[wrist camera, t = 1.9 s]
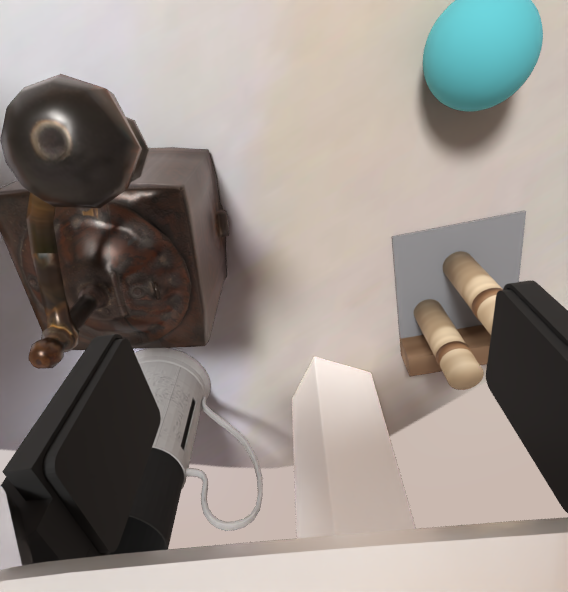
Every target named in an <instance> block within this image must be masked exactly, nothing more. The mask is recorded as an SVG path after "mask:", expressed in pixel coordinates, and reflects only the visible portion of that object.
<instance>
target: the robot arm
mask: <svg viewBox="0 0 568 592" xmlns="http://www.w3.org/2000/svg"><path fill="white" fill-rule="evenodd" d="M486 380H487V384H488V387H489V389H490V391H491V392H492V393H493V395H494V397H495V399H496V400H497V402H498V403H499V405H500V407H501V408H502V410H503V411H504V413H505V415H506V416H507V418H508V420H509V421H510V423H511V425H512V426H513V428H514V430H515V431H516V433H517V434H518V436H519V438H520V439H521V441H522V443H523V444H524V446H525V447H526V449H527V451H528V452H529V454H530V456H531V457H532V459H533V461H534V462H535V464H536V465H537V467H538V469H539V470H540V472H541V474H542V475H543V477H544V478H545V480H546V482H547V483H548V485H549V487H550V488H551V490H552V491H553V493H554V495H555V496H556V498H557V500H558V501H559V503H560V504H561V506H562V507H563V509H564V510H565V511H566V512H567V513H568V311H567V310H566V309H565V308H564V307H563V306H562V305H561V304H560V303H558V302H557V301H556V300H555V299H554V298H553V297H552V296H551V295H550V294H548V293H547V292H546V291H545V290H544V289H543V288H542V287H541V286H540V285H538V284H537V283H536V282H534V281H524V282H516V283H508V284H506V285H505V286H504V288H503V290H500V291H498V292H497V295H496V301H495V308H494V316H493V324H492V331H491V339H490V347H489V354H488V362H487V370H486ZM160 421H161V415H160V411H159V408H158V406H157V403H156V401H155V399H154V397H153V394H152V392H151V390H150V387H149V385H148V383H147V381H146V378H145V376H144V374H143V371H142V369H141V367H140V364H139V362H138V360H137V358H136V355H135V353H134V351H133V348H132V346H131V344H130V342H129V340H128V339H126V338H124V339H123V338H122V336H120V335H119V334H112V335H104V336H97V337H95V338H94V339H93V340H92V341H91V343H90V344H89V346H88V347H87V348H86V350H85V351H84V353H83V354H82V356H81V357H80V359H79V360H78V362H77V363H76V365H75V366H74V368H73V369H72V370H71V372H70V373H69V375H68V376H67V378H66V379H65V381H64V382H63V384H62V385H61V387H60V388H59V390H58V391H57V392H56V394H55V395H54V397H53V398H52V400H51V401H50V403H49V404H48V406H47V407H46V409H45V410H44V412H43V413H42V415H41V416H40V417H39V419H38V420H37V422H36V423H35V425H34V426H33V428H32V429H31V431H30V432H29V434H28V435H27V437H26V438H25V439H24V441H23V442H22V444H21V445H20V447H19V448H18V450H17V451H16V453H15V454H14V456H13V457H12V459H11V460H10V461H9V463H8V464H7V466H6V467H5V469H4V470H3V473H4V474H5V476H6V478H5V480H4V482H3V483H2V485H1V486H0V592H568V518H556V519H555V518H554V519H538V520H524V521H509V522H496V523H485V524H472V525H458V526H445V527H432V528H419V529H406V530H393V531H381V532H369V533H357V534H345V535H332V536H320V537H308V538H296V539H286V540H273V541H260V542H249V543H238V544H226V545H214V546H203V547H192V548H180V549H169V550H158V551H147V552H135V553H124V554H114V555H110V553H111V552H114V551H115V550H116V549H117V548H118V545H119V543H120V540H121V537H122V534H123V531H124V528H125V526H126V523H127V520H128V517H129V514H130V511H131V508H132V505H133V502H134V499H135V496H136V493H137V490H138V487H139V484H140V482H141V479H142V476H143V473H144V470H145V467H146V464H147V461H148V458H149V455H150V452H151V449H152V446H153V443H154V440H155V438H156V435H157V432H158V429H159V426H160Z"/></svg>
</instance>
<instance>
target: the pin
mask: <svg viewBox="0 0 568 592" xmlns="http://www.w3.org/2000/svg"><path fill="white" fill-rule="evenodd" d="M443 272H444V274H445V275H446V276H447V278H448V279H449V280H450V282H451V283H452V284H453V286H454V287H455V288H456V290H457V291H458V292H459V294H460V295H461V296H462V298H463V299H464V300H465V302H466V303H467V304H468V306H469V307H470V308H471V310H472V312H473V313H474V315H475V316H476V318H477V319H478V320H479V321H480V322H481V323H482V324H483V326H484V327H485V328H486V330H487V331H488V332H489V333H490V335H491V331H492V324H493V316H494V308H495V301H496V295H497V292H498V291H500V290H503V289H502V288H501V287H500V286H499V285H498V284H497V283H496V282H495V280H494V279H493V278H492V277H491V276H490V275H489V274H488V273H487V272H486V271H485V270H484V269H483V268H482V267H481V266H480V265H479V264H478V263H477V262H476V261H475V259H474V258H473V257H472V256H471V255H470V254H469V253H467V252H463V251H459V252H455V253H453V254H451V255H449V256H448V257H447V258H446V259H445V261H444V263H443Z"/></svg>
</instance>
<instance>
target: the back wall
mask: <svg viewBox="0 0 568 592" xmlns="http://www.w3.org/2000/svg"><path fill="white" fill-rule="evenodd" d="M457 331H458V332H459V334H460V335H461V337H462V338H463V340H464V341H465V343H466V344H467V345H468V346H469V348H470V349H471V351H472V353H473V354H474V357H475V359H476V360H477V362H478V363H479V365H484V364H487V362H488V354H489V347H490V339H491V335H490V333H489V332H488V331H487V330H486V328H485V327H484V326H483V325H478V326H472V327H466V328H460V329H457ZM400 348H401V356H402V358H403V361H404V363H405V366H406V368H407V370H408V373H409V375H410V376H415V375H422V374H428V373H434V372H440V371H442V370H441V369H440V367H439V365H438V363H437V361H436V358H435V356H434V354H433V352H432V350H431V348H430V346H429V344H428V342H427V340H426V338H425V336H424V335H419V336H413V337H408V338H402V339H400Z"/></svg>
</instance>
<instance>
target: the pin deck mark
mask: <svg viewBox="0 0 568 592" xmlns="http://www.w3.org/2000/svg"><path fill="white" fill-rule="evenodd" d="M525 216H526V211H520V212H515V213H510V214H505V215H500V216H495V217H490V218H484V219H479V220H474V221H469V222H464V223H459V224H454V225H448V226H443V227H438V228H433V229H428V230H423V231H418V232H413V233H407V234H402V235H397V236H392V246H393V259H394V272H395V284H396V297H397V310H398V323H399V335H400V339H402V338H408V337H413V336H419V335H424V334H423V333H422V331H421V329H420V327H419V325H418V323H417V321H416V319H415V317H414V309H415V307H416V306H417V304H419V303H420V302H421V301H424V300H427V299H433V300H436V301H438V302H439V303H440V304H441V306H442V307H443V309H444V310H445V312H446V314H447V315H448V317H449V318H450V320H451V321H452V323H453V324H454V326H455V328H456V329H460V328H466V327H472V326H478V325H483V324H482V323H481V322H480V321H479V320H478V319H477V318H476V316H475V315H474V313H473V312H472V310H471V308H470V307H469V306H468V304H467V303H466V302H465V300H464V299H463V298H462V296H461V295H460V294H459V292H458V291H457V290H456V288H455V287H454V286H453V284H452V283H451V282H450V280H449V279H448V278H447V276H446V275H445V274H444V272H443V263H444V261H445V259H446V258H447V257H448V256H449V255H451V254H453V253H455V252H459V251H463V252H467V253H469V254H470V255H471V256H472V257H473V258H474V259H475V261H476V262H477V263H478V264H479V265H480V266H481V267H482V268H483V269H484V270H485V271H486V272H487V273H488V274H489V275H490V276H491V277H492V278H493V279H494V280H495V282H496V283H497V284H498V285H499V286H500V287H501V288H502V289H503V288H504V286H505V285H506V284H508V283H516V282H519V275H520V265H521V256H522V246H523V236H524V226H525Z"/></svg>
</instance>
